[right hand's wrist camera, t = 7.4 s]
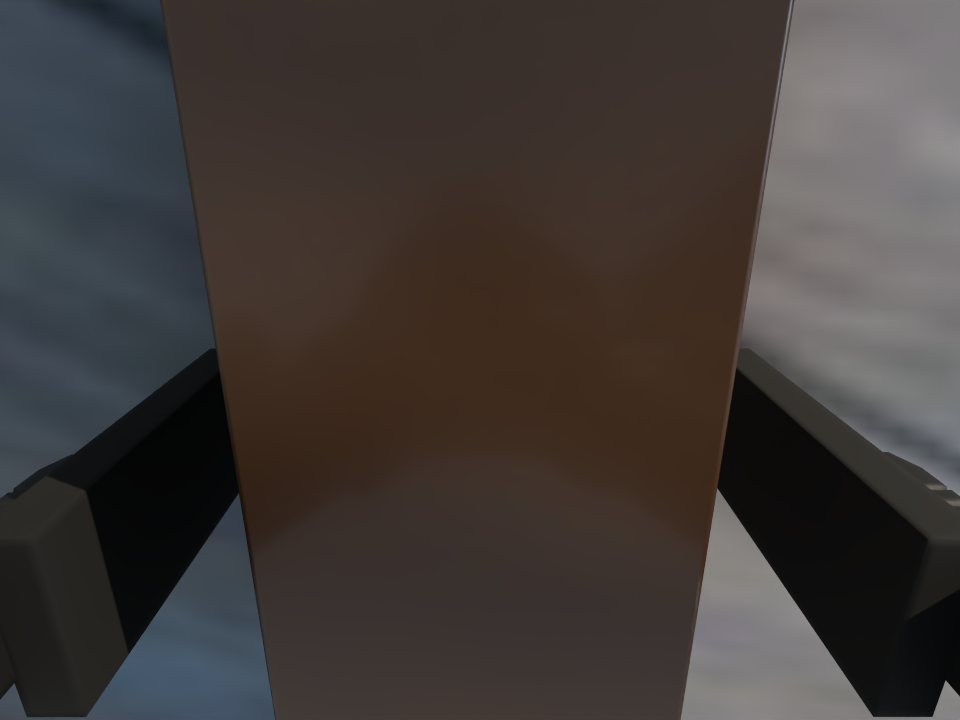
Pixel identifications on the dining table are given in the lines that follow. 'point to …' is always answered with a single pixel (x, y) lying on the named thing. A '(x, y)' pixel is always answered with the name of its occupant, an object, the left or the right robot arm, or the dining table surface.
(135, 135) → the dining table surface
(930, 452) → the dining table surface
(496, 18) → the plank
